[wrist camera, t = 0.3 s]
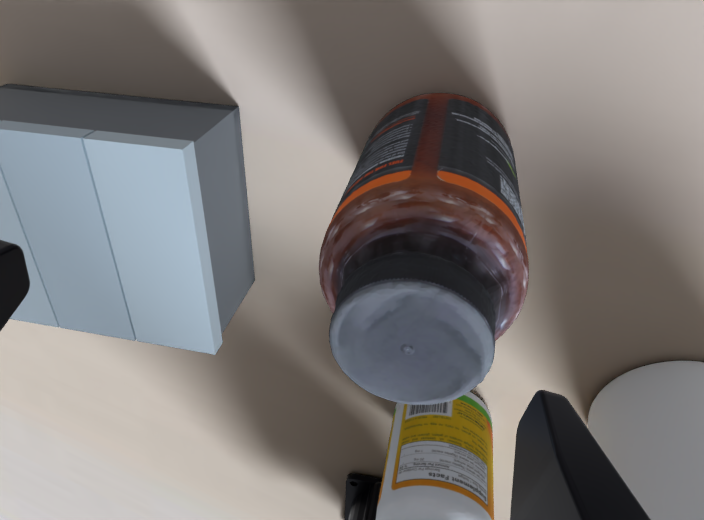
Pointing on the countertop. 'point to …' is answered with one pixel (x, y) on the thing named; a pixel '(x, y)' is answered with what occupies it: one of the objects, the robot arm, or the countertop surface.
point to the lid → (109, 234)
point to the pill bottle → (656, 436)
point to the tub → (175, 123)
